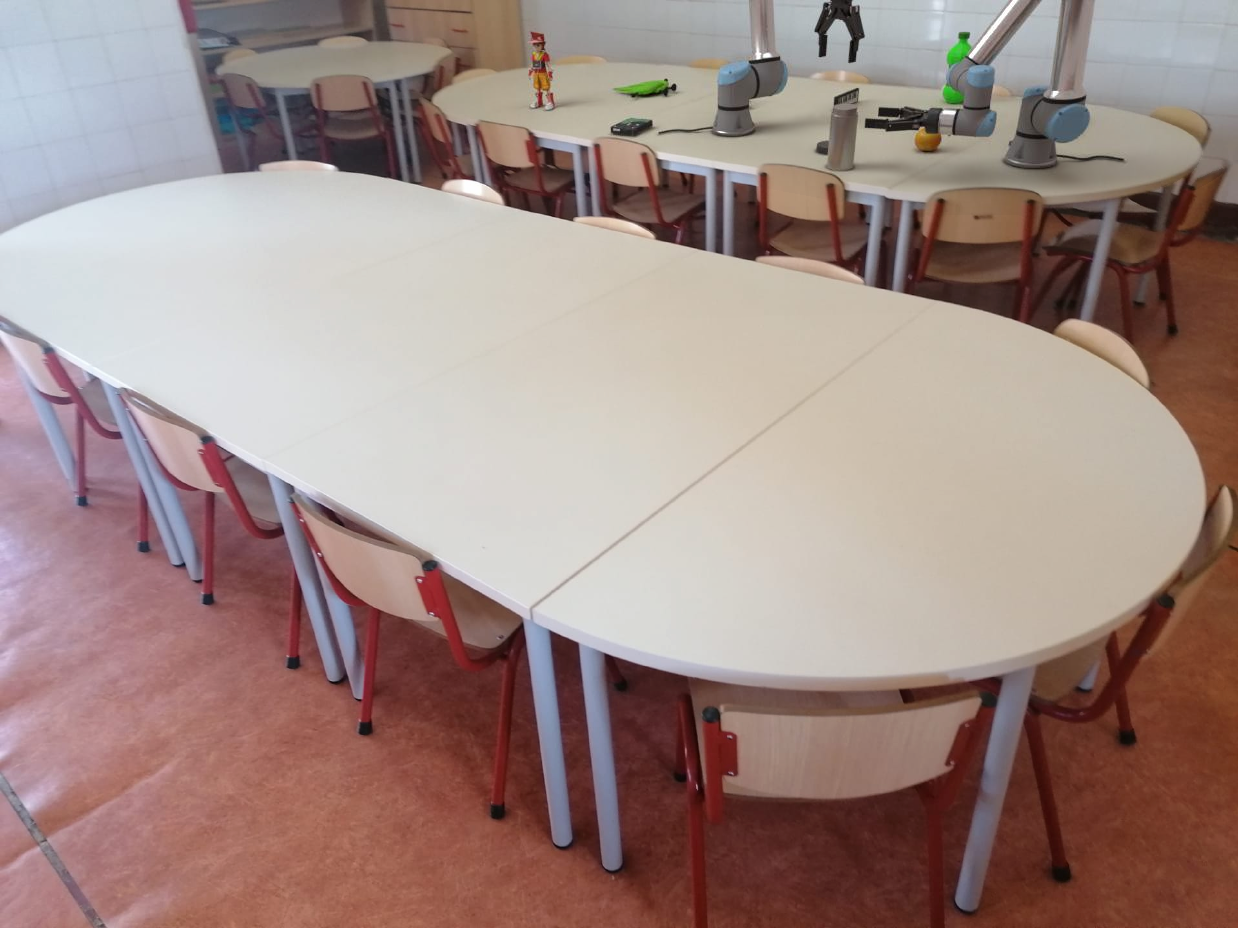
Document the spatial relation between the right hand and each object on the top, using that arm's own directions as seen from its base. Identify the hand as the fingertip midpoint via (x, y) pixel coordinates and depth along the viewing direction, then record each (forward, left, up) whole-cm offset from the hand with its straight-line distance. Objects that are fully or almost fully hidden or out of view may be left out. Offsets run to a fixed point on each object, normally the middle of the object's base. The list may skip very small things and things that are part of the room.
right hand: (871, 117), depth 281 cm
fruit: (-23, -20, -16) cm, 34 cm away
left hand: (+10, -22, +13) cm, 28 cm away
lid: (+9, -22, -14) cm, 28 cm away
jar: (+8, -4, -16) cm, 19 cm away
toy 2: (+82, -120, -16) cm, 146 cm away
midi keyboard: (-3, -84, -16) cm, 85 cm away
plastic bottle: (-45, -85, -16) cm, 97 cm away
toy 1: (+123, -97, -16) cm, 157 cm away
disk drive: (+81, -56, -16) cm, 100 cm away
